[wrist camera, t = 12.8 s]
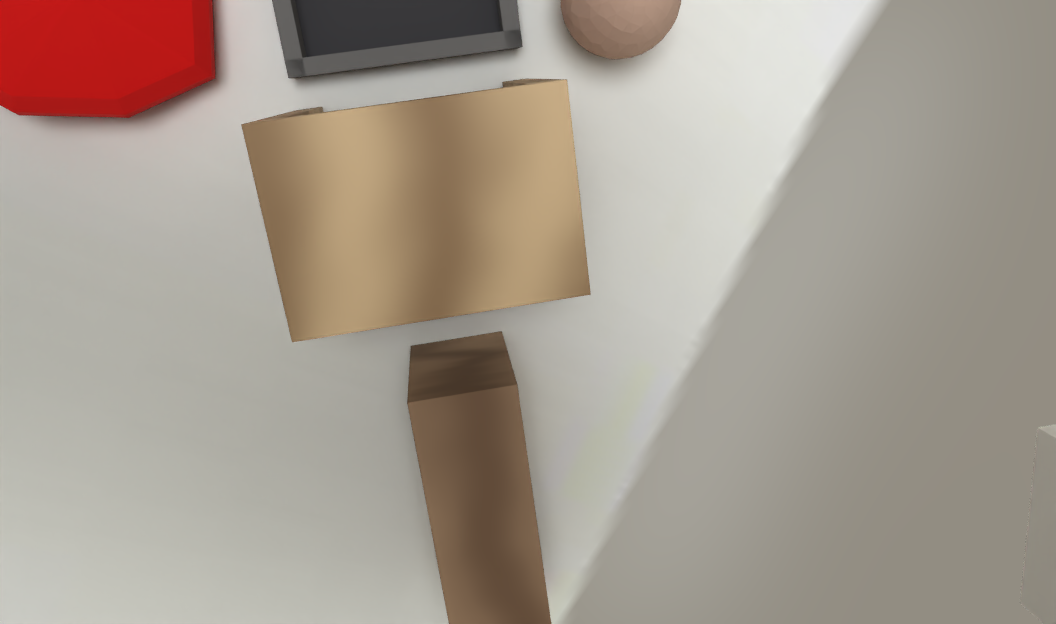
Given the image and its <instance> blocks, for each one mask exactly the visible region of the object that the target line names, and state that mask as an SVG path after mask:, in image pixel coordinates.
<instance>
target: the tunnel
mask: <svg viewBox="0 0 1056 624" xmlns="http://www.w3.org/2000/svg"><path fill="white" fill-rule="evenodd" d="M242 129H243V134H244V138H245V142H246V147H247V151H248V155H249V159H250V164H251V168H252V172H253V177H254V181H255V185H256V189H257V194H258V198H259V202H260V207H261V211H262V215H263V219H264V224H265V228H266V232H267V237H268V241H269V245H270V249H271V254H272V258H273V262H274V267H275V271H276V275H277V279H278V284H279V288H280V292H281V297H282V301H283V305H284V309H285V314H286V318H287V322H288V327H289V331H290V335H291V339H292V342H297V341H303V340H310V339H316V338H322V337H328V336H335V335H341V334H347V333H353V332H359V331H366V330H372V329H378V328H384V327H391V326H397V325H403V324H409V323H416V322H422V321H428V320H434V319H441V318H447V317H453V316H459V315H466V314H472V313H478V312H484V311H491V310H497V309H503V308H509V307H516V306H522V305H528V304H534V303H541V302H547V301H553V300H559V299H566V298H572V297H578V296H584V295H591V294H590V285H589V275H588V266H587V257H586V248H585V239H584V230H583V221H582V212H581V203H580V194H579V185H578V176H577V166H576V157H575V148H574V139H573V130H572V121H571V112H570V103H569V94H568V85H567V80H561V79H521V80H513V81H506V82H503V88H496V89H489V90H482V91H475V92H467V93H460V94H453V95H446V96H438V97H431V98H424V99H417V100H409V101H402V102H395V103H388V104H380V105H373V106H366V107H359V108H352V109H344V110H337V111H330V112H323V110H322V107H317V108H310V109H302V110H296V111H292V112H288V113H285V114H281V115H277V116H273V117H269V118H265V119H261V120H257V121H253V122H250V123H246V124H242Z"/></svg>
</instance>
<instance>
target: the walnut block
mask: <svg viewBox="0 0 1056 624" xmlns="http://www.w3.org/2000/svg"><path fill="white" fill-rule="evenodd" d="M407 404H408V409H409V414H410V419H411V425H412V430H413V435H414V441H415V446H416V451H417V457H418V462H419V467H420V472H421V478H422V483H423V488H424V494H425V499H426V504H427V509H428V515H429V520H430V525H431V531H432V536H433V541H434V547H435V552H436V557H437V562H438V568H439V573H440V578H441V584H442V589H443V594H444V600H445V605H446V610H447V615H448V621H449V624H551V619H550V612H549V605H548V598H547V591H546V583H545V576H544V569H543V562H542V555H541V548H540V541H539V534H538V527H537V520H536V513H535V506H534V499H533V492H532V485H531V478H530V471H529V464H528V457H527V450H526V443H525V436H524V429H523V422H522V415H521V408H520V401H519V394H518V387H517V382H516V379H515V375H514V372H513V369H512V365H511V362H510V358H509V355H508V351H507V348H506V345H505V341H504V338H503V334H502V331H501V332H495V333H489V334H482V335H476V336H470V337H464V338H457V339H451V340H445V341H439V342H432V343H426V344H420V345H414V346H411V351H410V368H409V384H408V401H407Z"/></svg>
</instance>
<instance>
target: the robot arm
mask: <svg viewBox="0 0 1056 624" xmlns="http://www.w3.org/2000/svg"><path fill="white" fill-rule="evenodd" d="M1020 603H1021V604H1022V605H1023V606H1024V607H1025V608H1026V609H1027V610H1028V611H1029V612H1031V613H1032V614H1033V615H1034V616H1035V617H1036V618H1037V619H1038V620H1040V621H1041V622H1042V623H1043V624H1056V425H1050V426H1044V427H1038V428H1037V438H1036V448H1035V458H1034V467H1033V477H1032V487H1031V498H1030V508H1029V516H1028V526H1027V536H1026V546H1025V557H1024V566H1023V576H1022V586H1021V596H1020Z"/></svg>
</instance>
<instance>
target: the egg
mask: <svg viewBox="0 0 1056 624" xmlns="http://www.w3.org/2000/svg"><path fill="white" fill-rule="evenodd" d="M680 5H681V0H561V11H562V15H563V19H564V23H565V24H566V26H567V28H568V30H569V32H570V34H571V36H572V37H573V38H574V39H575V40H576V41H577V43H578V44H579V45H580V46H582V47H583V48H584V49H586V50H587V51H589V52H591V53H593V54H595V55H598V56H601V57H605V58H609V59H622V58H631V57H634V56H637V55H640V54H643V53H644V52H646V51H648V50H650V49H652V48H653V47H654V46H655V45H656V44H658V43H659V42H660V41H661V40H662V39H663V38H664V37H665V35H666V34H667V33H668V32H669V30H670V29H671V28H672V26H673V24H674V22H675V20H676V18H677V15H678V12H679V8H680Z"/></svg>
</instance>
